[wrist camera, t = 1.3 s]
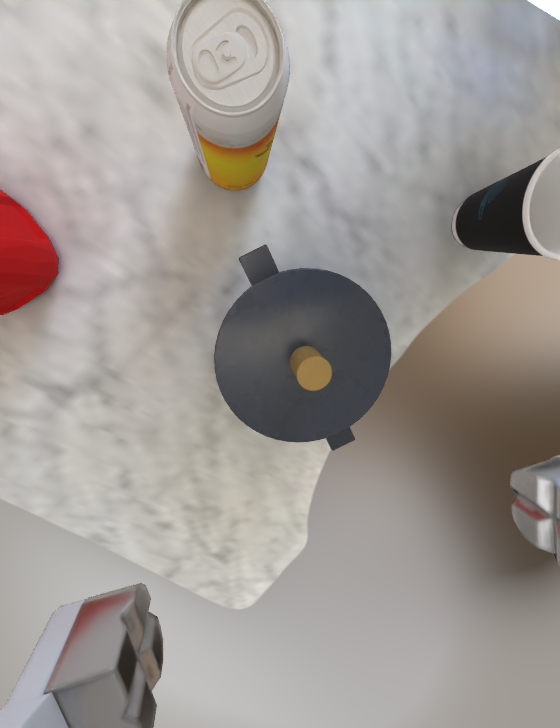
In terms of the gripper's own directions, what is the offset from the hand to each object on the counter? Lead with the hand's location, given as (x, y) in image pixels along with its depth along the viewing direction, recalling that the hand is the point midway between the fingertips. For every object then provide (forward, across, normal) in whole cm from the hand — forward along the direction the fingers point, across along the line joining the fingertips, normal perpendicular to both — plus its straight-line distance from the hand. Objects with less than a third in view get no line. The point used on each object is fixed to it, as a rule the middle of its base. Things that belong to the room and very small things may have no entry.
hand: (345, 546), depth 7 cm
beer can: (+28, -3, -17) cm, 33 cm away
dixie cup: (+27, -25, -8) cm, 38 cm away
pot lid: (+21, -4, +1) cm, 21 cm away
